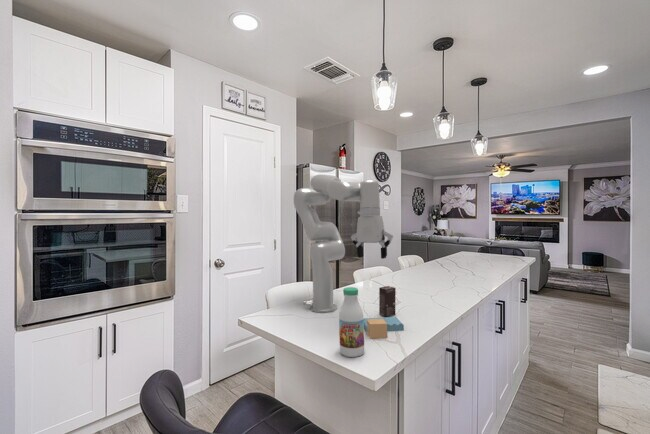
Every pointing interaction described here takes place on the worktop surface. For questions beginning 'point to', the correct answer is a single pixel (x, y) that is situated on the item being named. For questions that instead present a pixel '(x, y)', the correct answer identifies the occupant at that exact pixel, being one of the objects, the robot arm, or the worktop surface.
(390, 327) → the blue flat block
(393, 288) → the box
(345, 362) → the worktop surface
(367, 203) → the robot arm
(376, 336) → the tan block
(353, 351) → the milk bottle
